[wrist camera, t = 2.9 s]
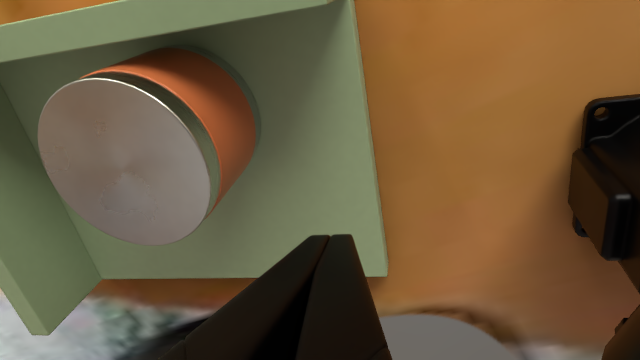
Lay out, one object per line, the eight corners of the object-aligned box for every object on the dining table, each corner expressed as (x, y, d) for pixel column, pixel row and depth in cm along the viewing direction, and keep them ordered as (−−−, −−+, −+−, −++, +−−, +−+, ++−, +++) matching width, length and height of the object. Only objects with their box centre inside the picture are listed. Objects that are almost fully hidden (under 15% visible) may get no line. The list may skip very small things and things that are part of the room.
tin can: (241, 32, 17) (174, 63, 13) (276, 175, 20) (234, 245, 16) (105, 55, 19) (1, 89, 14) (156, 184, 22) (84, 249, 17)
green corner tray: (348, -44, 16) (320, -42, 12) (388, 262, 23) (381, 347, 18) (-22, 32, 21) (-154, 56, 16) (98, 267, 28) (31, 335, 23)
